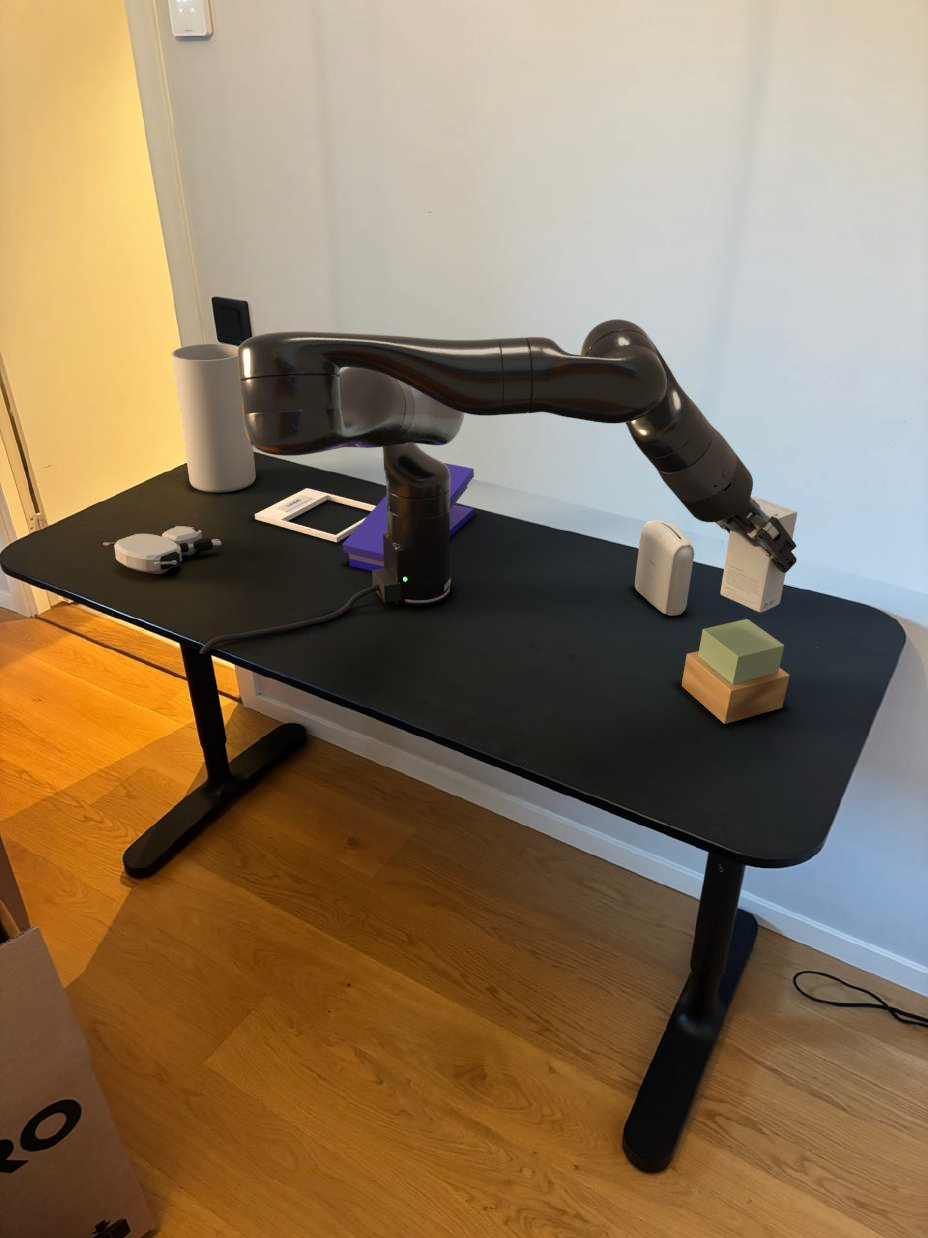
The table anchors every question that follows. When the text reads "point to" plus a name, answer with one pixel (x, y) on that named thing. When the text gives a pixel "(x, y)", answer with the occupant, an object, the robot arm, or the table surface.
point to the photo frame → (302, 503)
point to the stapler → (369, 534)
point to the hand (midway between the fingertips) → (768, 552)
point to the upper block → (740, 651)
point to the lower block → (733, 691)
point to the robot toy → (161, 548)
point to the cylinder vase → (213, 418)
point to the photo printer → (664, 567)
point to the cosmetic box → (755, 565)
